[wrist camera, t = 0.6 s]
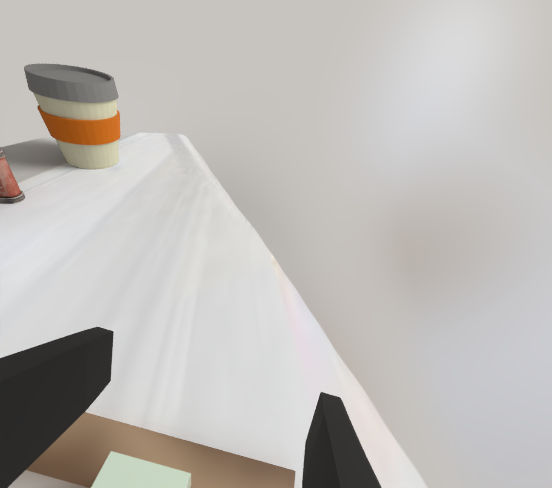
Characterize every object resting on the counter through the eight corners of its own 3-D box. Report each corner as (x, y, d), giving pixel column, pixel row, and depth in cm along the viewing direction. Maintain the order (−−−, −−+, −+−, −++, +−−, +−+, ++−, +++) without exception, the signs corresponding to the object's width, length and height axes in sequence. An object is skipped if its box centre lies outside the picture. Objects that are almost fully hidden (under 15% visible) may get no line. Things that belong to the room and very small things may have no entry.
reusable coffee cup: (109, 178, 48) (89, 88, 38) (37, 164, 46) (-2, 67, 37) (138, 154, 57) (128, 77, 48) (79, 142, 56) (57, 61, 47)
